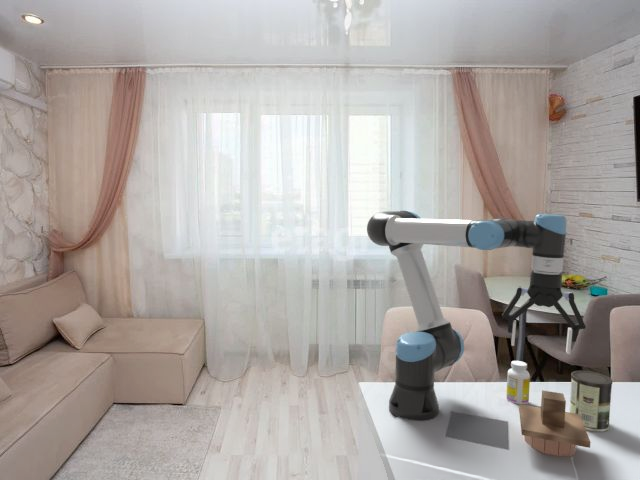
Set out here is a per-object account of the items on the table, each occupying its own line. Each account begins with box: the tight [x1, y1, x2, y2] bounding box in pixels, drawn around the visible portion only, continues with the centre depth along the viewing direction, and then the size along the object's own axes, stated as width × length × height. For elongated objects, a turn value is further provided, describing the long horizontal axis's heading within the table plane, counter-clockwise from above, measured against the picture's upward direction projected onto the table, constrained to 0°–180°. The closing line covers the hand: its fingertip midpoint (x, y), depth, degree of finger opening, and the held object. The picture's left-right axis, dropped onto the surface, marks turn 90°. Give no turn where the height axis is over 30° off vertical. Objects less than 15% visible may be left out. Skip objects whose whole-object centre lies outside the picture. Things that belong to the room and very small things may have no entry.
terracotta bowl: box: [523, 435, 577, 457], centre depth 118 cm, size 12×12×6 cm
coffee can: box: [569, 370, 613, 433], centre depth 130 cm, size 10×10×14 cm
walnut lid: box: [518, 390, 592, 449], centre depth 116 cm, size 15×15×8 cm
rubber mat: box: [444, 410, 510, 451], centre depth 125 cm, size 16×16×1 cm
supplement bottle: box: [506, 360, 531, 405], centre depth 144 cm, size 7×7×13 cm
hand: (539, 348), depth 121 cm, fingers open, 13 cm apart
